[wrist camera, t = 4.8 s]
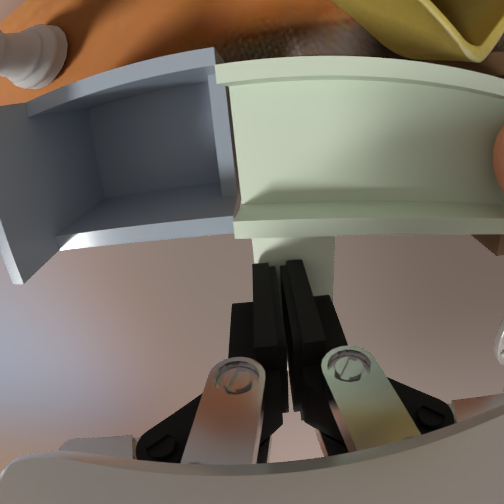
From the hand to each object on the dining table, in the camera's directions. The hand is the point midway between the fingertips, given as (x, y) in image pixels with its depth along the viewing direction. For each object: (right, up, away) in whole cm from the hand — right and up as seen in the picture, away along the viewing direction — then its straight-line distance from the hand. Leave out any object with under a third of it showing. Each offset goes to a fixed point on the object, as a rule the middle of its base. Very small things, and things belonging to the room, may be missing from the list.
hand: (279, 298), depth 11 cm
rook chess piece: (-14, +14, +3) cm, 20 cm away
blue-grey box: (-6, +8, +6) cm, 12 cm away
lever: (+8, +2, -1) cm, 9 cm away
